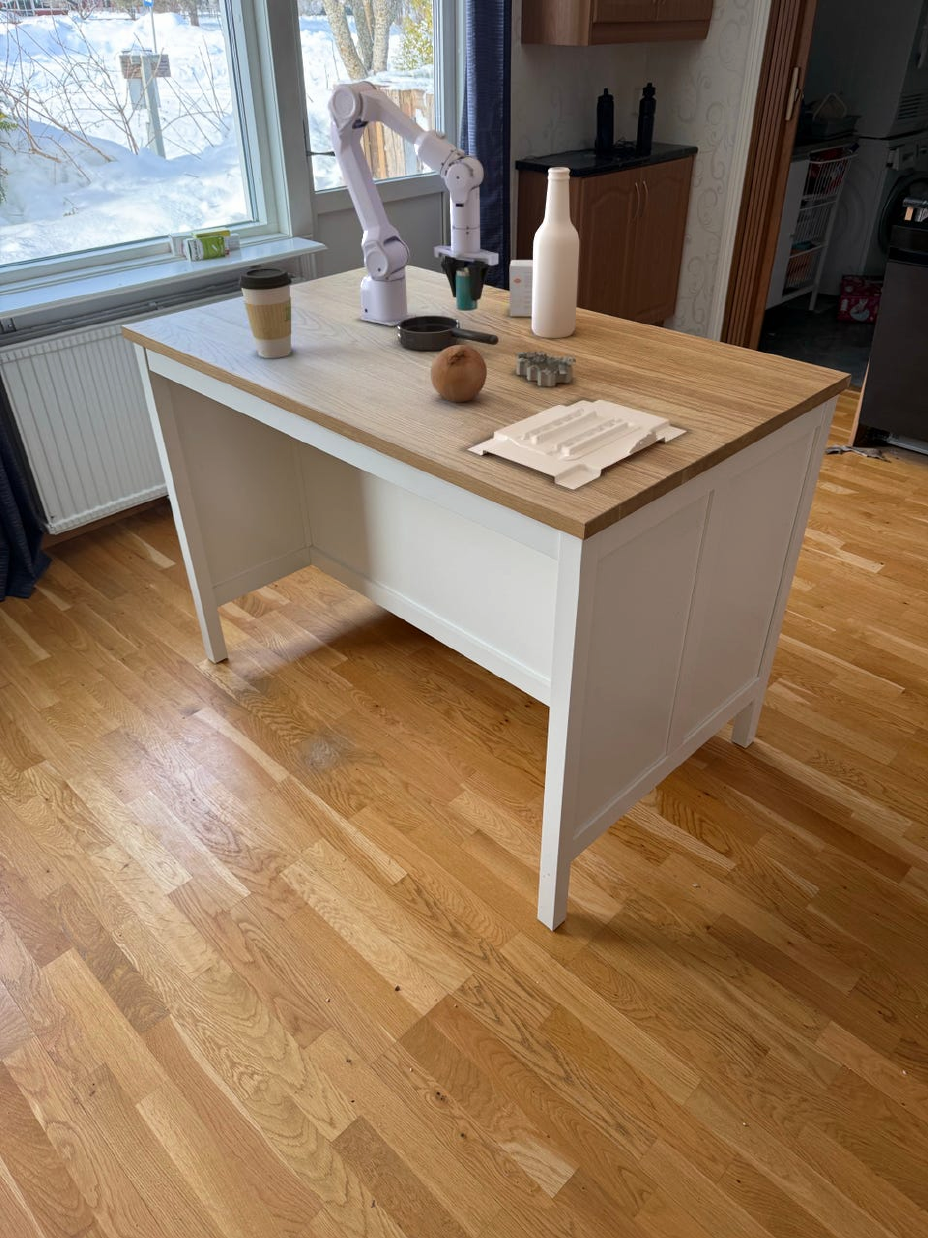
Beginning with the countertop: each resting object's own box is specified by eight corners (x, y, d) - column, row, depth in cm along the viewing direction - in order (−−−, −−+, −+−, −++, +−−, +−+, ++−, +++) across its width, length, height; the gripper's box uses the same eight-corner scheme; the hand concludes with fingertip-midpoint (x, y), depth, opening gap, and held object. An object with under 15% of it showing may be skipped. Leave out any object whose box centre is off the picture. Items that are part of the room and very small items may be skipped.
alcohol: (569, 340, 177) (577, 172, 161) (526, 336, 180) (529, 171, 163) (579, 327, 184) (587, 165, 167) (537, 324, 187) (541, 164, 170)
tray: (465, 449, 133) (465, 425, 131) (581, 405, 150) (583, 384, 148) (574, 490, 121) (576, 464, 119) (686, 437, 138) (690, 414, 136)
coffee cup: (310, 348, 176) (300, 268, 168) (281, 363, 169) (270, 280, 160) (268, 343, 180) (257, 264, 171) (238, 357, 172) (225, 276, 164)
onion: (465, 423, 150) (465, 380, 141) (420, 399, 153) (417, 355, 144) (497, 388, 154) (499, 344, 145) (452, 365, 156) (451, 321, 148)
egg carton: (577, 382, 157) (579, 359, 155) (540, 389, 154) (541, 366, 152) (546, 365, 165) (547, 342, 163) (510, 371, 162) (511, 349, 160)
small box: (547, 309, 196) (548, 259, 190) (546, 317, 191) (548, 265, 185) (510, 309, 197) (510, 259, 191) (508, 316, 192) (509, 265, 186)
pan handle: (448, 337, 173) (448, 327, 172) (454, 334, 175) (453, 325, 174) (494, 346, 168) (494, 337, 167) (500, 344, 169) (500, 334, 168)
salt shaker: (452, 308, 184) (451, 270, 179) (464, 303, 187) (464, 266, 182) (469, 311, 181) (468, 273, 177) (481, 306, 184) (481, 268, 180)
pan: (386, 344, 177) (385, 326, 175) (425, 329, 185) (424, 312, 183) (434, 355, 171) (433, 336, 169) (472, 339, 179) (472, 321, 177)
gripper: (423, 226, 176) (426, 297, 184) (483, 233, 169) (484, 307, 177) (445, 220, 181) (447, 289, 189) (504, 227, 174) (504, 299, 181)
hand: (466, 297), depth 183 cm, fingers closed on salt shaker, 4 cm apart
